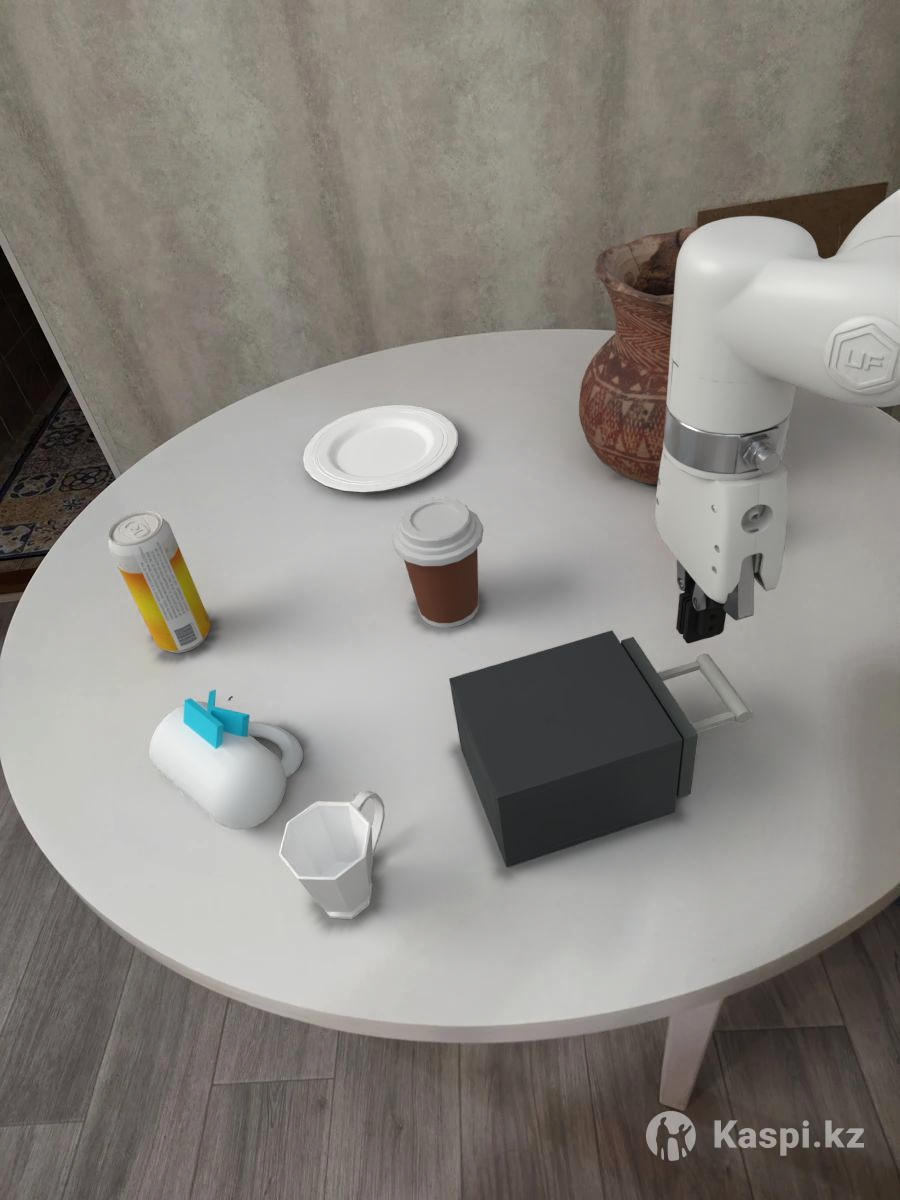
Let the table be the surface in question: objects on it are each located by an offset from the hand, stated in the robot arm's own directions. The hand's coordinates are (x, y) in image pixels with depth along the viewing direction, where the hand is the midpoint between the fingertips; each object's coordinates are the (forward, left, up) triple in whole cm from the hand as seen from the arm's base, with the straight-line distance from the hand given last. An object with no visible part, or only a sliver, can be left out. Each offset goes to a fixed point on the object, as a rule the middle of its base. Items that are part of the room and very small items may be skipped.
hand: (699, 631), depth 67 cm
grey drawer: (+6, 0, -12) cm, 14 cm away
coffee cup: (+15, -25, -13) cm, 32 cm away
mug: (+38, -10, -13) cm, 41 cm away
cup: (+31, +3, -13) cm, 34 cm away
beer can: (+43, -32, -13) cm, 55 cm away
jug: (-18, -41, -13) cm, 47 cm away
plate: (+15, -57, -13) cm, 60 cm away
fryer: (+12, 0, -13) cm, 18 cm away
